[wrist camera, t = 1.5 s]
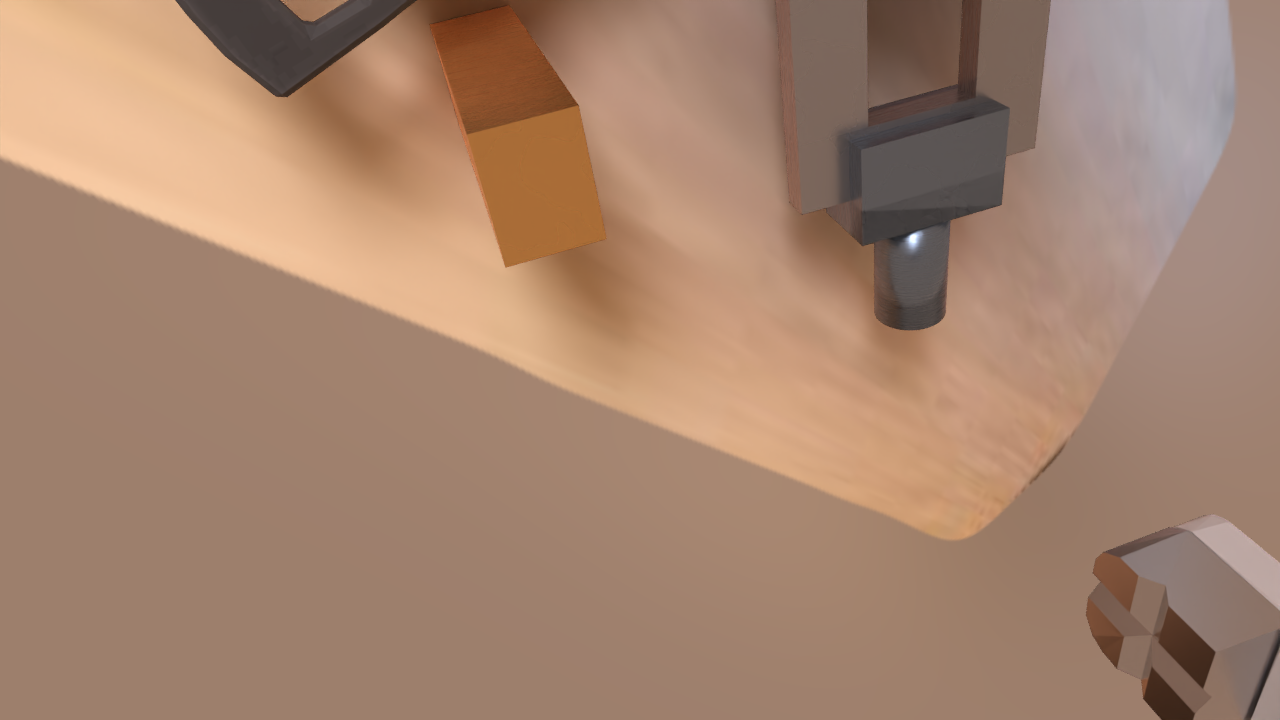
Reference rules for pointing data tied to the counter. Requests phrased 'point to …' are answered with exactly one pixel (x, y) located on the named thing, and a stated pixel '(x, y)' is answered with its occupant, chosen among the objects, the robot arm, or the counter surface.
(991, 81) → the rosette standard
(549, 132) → the orange wooden block
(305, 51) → the zipper pull
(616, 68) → the counter surface
